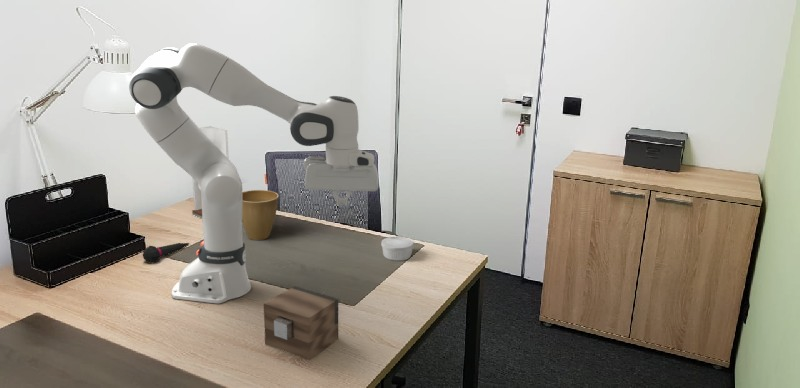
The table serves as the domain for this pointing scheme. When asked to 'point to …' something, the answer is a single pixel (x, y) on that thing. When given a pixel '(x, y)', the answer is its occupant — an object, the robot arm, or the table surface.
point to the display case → (221, 143)
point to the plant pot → (258, 212)
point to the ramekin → (397, 248)
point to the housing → (302, 321)
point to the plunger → (283, 328)
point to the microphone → (161, 251)
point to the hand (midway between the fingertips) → (341, 205)
